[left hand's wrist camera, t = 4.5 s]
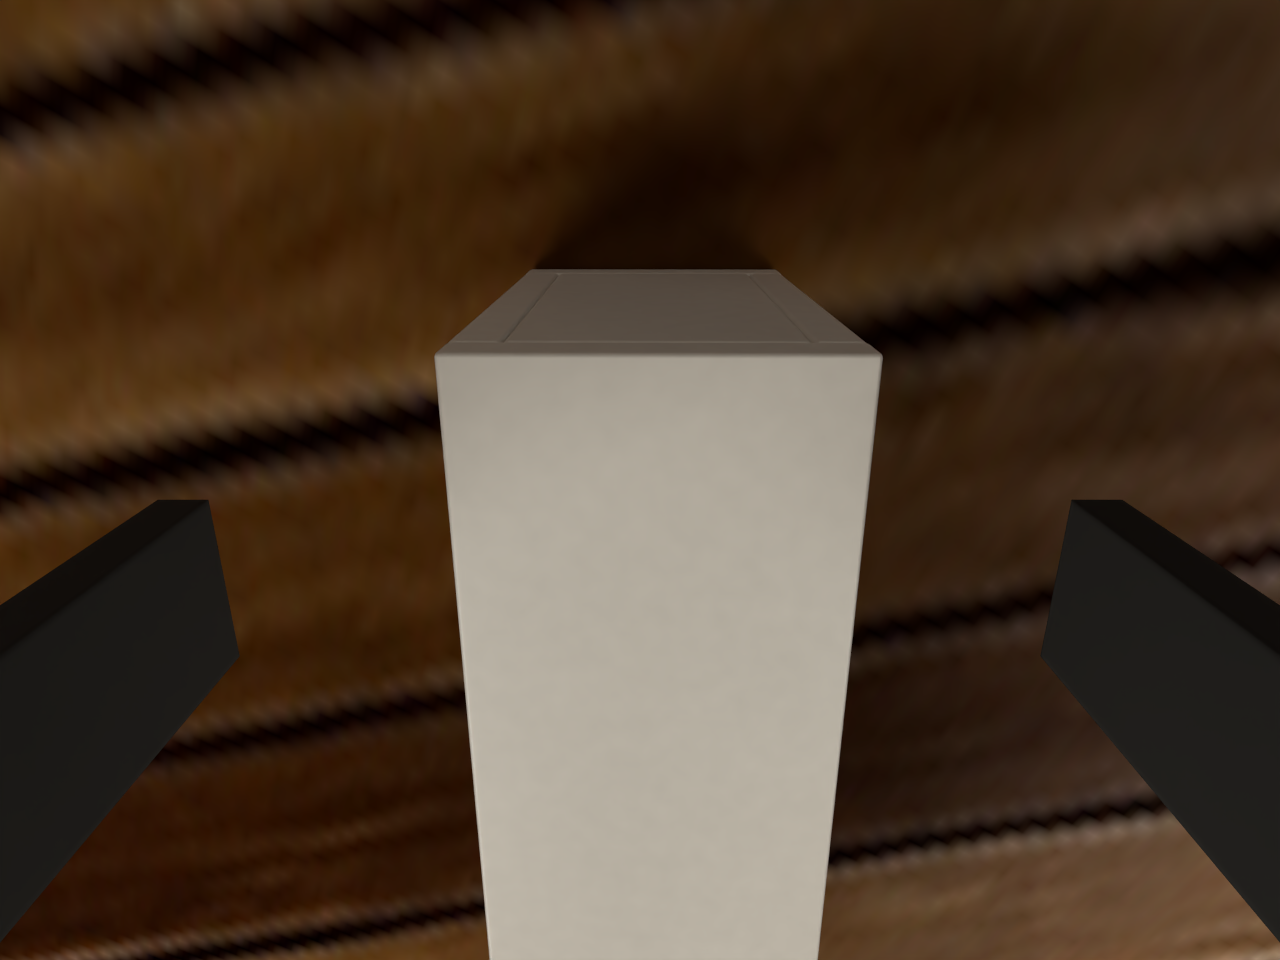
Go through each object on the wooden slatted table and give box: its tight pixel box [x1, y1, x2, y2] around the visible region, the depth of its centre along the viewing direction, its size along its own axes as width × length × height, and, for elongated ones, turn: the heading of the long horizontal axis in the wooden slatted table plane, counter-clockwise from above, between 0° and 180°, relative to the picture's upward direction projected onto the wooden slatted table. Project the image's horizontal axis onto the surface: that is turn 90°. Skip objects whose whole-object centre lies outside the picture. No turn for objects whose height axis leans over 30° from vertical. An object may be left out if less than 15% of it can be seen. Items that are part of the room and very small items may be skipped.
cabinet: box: [435, 269, 883, 960], centre depth 19 cm, size 22×6×9 cm, turn 0°
